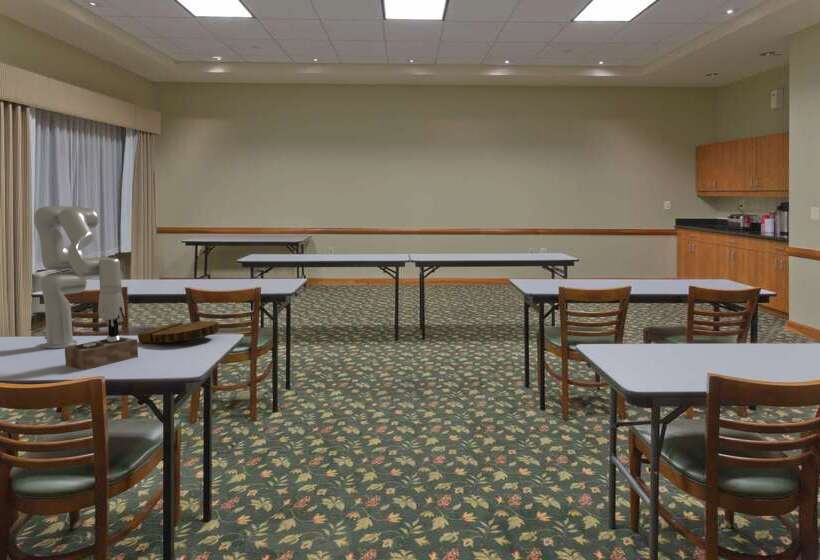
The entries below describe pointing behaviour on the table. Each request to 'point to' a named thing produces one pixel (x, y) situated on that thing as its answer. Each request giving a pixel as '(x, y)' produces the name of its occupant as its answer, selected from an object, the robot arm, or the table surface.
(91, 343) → the peg near
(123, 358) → the socket block
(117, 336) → the peg far
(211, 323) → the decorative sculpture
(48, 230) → the robot arm
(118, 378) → the table surface
